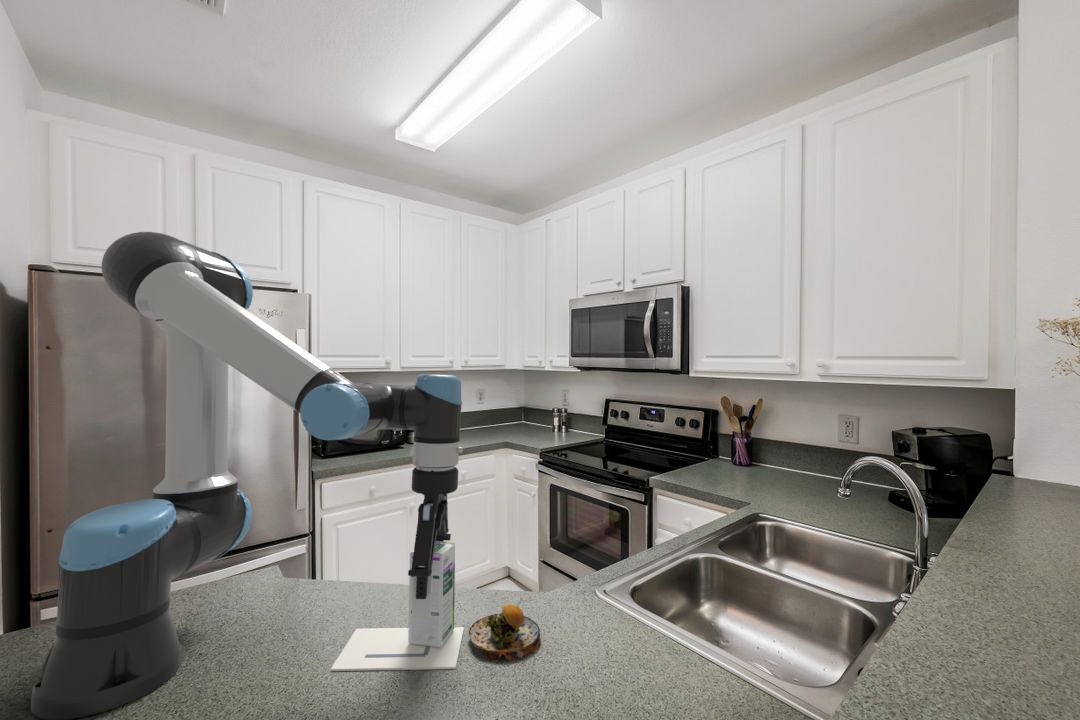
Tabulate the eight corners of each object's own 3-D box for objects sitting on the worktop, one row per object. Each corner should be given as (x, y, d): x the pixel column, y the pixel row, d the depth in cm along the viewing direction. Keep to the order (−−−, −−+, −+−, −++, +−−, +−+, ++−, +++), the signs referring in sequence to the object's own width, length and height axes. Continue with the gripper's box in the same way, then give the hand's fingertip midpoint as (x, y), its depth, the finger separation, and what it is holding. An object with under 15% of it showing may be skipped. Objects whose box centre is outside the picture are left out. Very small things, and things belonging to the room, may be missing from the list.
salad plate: (494, 616, 83) (495, 574, 84) (552, 634, 78) (553, 589, 78) (452, 650, 73) (453, 602, 73) (517, 673, 67) (518, 620, 68)
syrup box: (441, 648, 72) (444, 553, 73) (406, 644, 73) (409, 550, 74) (454, 630, 77) (456, 542, 78) (421, 626, 78) (424, 539, 80)
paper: (330, 671, 66) (330, 668, 66) (356, 630, 77) (356, 628, 77) (455, 668, 67) (455, 666, 67) (463, 629, 78) (464, 626, 78)
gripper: (447, 483, 64) (440, 639, 63) (466, 455, 89) (461, 566, 88) (393, 482, 64) (385, 638, 63) (427, 454, 89) (422, 566, 88)
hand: (429, 597), depth 76 cm, fingers open, 13 cm apart
